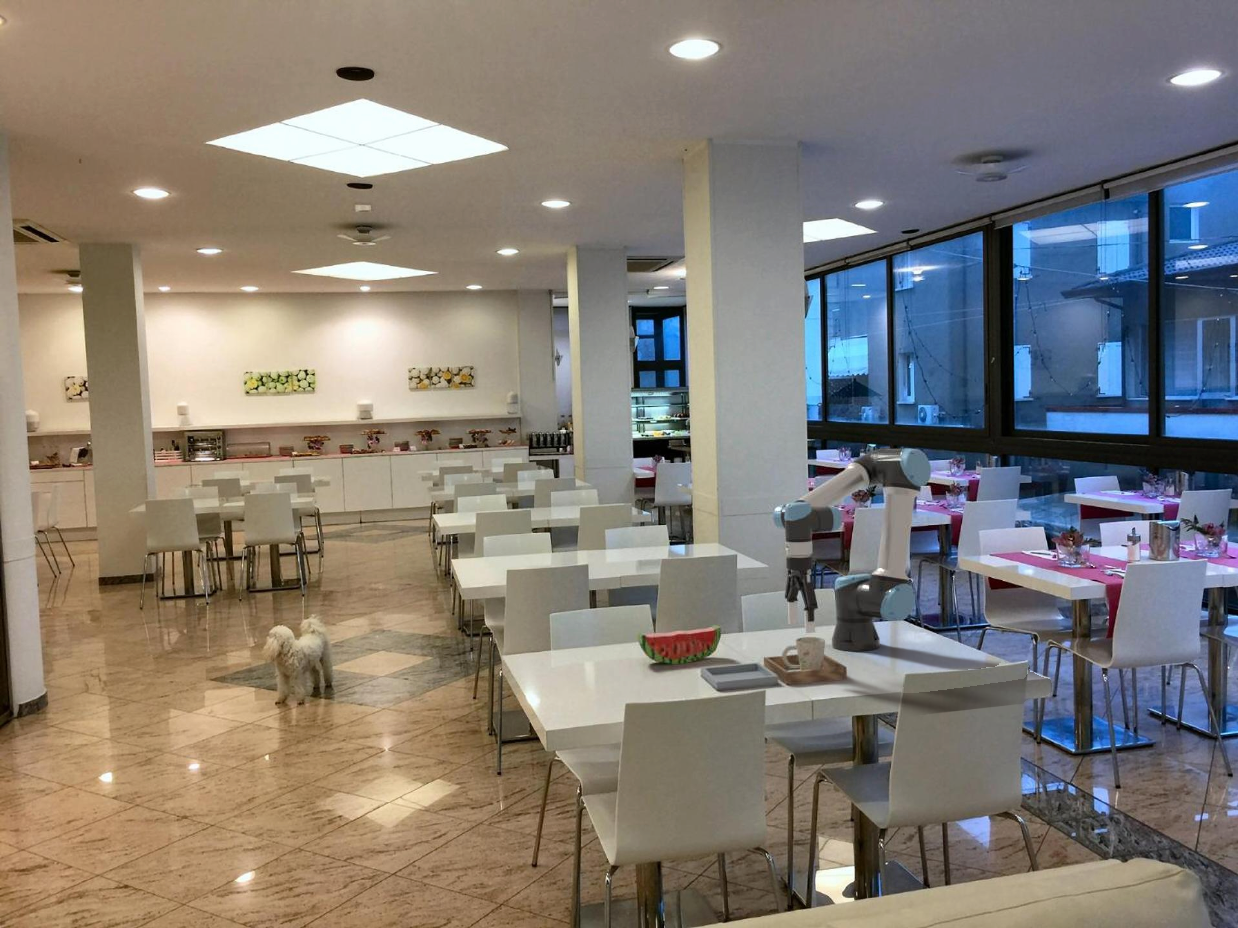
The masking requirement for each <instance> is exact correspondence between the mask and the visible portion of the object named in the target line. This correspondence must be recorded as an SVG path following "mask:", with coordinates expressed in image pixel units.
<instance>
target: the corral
mask: <svg viewBox="0 0 1238 928" xmlns="http://www.w3.org/2000/svg"><path fill="white" fill-rule="evenodd" d="M786 658H787V661H788V662H789V663H790V664H791V665H800V663H799V657H798V653H796V654H787V655H786ZM763 666H765V667H766V668H767V669H769V670H770V671H772V672H773V673H775V674H776V675H777V676H778V681H781V682H782V683H783V684H784V683H785V685H786V686H791V685H801V684H803V685H804V684H810V683H811V684H812V683H813V684H814V683H820V682H830V681H831V682H832V681H842V680H847V679H848V675H847V674H848V671H847V670H848V669H847V666H846V665H844V664H842V663H841V662H839V661H837V660H835V659H834V658H831V657H830V656H829V655H826V654H825V653H824V659H823V668H821V669H811V670H801V669H800V670H793V671H792V670H791V671H788V670H787V669H788V668H790V667H789V666H787V665H786V664H785V663H784V662H783V659H782V655H778V656H777V655H776V656H775V655H774V656H765V657H763Z"/></svg>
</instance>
